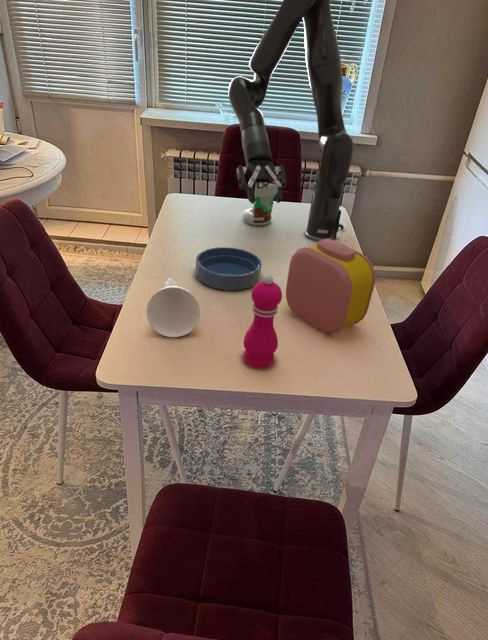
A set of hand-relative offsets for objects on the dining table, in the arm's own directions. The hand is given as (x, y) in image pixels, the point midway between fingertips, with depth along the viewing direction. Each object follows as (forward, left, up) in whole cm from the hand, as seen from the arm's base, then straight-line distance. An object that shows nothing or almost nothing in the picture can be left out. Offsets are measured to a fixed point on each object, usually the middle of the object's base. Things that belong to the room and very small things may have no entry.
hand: (266, 202), depth 137 cm
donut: (-9, -27, -17) cm, 33 cm away
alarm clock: (-3, +36, -17) cm, 40 cm away
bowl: (+13, +10, -17) cm, 23 cm away
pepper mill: (+18, +48, -17) cm, 54 cm away
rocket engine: (+31, +27, -17) cm, 45 cm away
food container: (0, -1, -5) cm, 5 cm away
